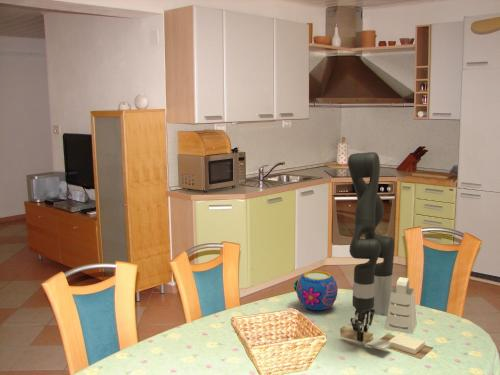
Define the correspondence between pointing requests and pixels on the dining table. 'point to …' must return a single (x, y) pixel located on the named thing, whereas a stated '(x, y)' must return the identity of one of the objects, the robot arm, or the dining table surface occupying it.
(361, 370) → the dining table surface
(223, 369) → the dining table surface
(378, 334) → the dining table surface
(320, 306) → the ceramic pot
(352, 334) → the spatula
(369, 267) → the robot arm
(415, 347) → the tile
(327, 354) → the dining table surface
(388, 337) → the board
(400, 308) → the grater
